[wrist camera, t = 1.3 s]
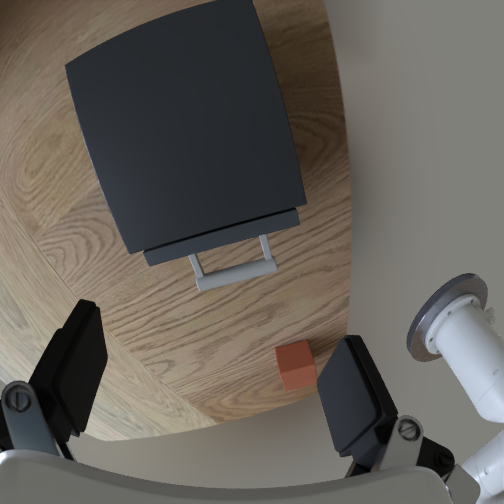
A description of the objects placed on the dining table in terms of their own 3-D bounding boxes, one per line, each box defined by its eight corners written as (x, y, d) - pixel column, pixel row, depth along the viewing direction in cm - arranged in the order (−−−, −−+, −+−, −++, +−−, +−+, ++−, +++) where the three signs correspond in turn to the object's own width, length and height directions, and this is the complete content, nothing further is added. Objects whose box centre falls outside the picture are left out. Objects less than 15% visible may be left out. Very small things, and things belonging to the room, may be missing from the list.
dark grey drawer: (291, 240, 28) (310, 281, 21) (185, 268, 29) (174, 316, 22) (244, 58, 20) (250, 33, 13) (124, 99, 21) (85, 94, 14)
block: (307, 339, 36) (315, 364, 32) (310, 359, 39) (318, 382, 34) (274, 348, 37) (279, 373, 33) (280, 367, 39) (285, 391, 35)
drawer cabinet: (281, 174, 26) (307, 204, 18) (159, 210, 27) (129, 255, 18) (242, 34, 19) (249, -7, 11) (115, 77, 20) (64, 64, 12)
